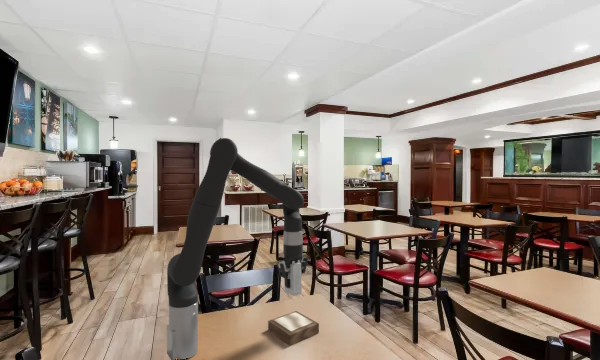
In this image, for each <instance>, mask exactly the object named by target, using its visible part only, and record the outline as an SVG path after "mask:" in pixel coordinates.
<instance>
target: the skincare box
mask: <svg viewBox="0 0 600 360" xmlns="http://www.w3.org/2000/svg"><path fill="white" fill-rule="evenodd" d="M290 266H291V273H290V288H286V286H285V278H283V279H284V283H283V285H284V293H286V294H288V295H290V296H292V297H297V296H301V295H302V293H303V287H302V285H303V284H302V275H301V263H295V264H290ZM284 268H285V267H284ZM287 269H288V270H289V268H287ZM287 275H288V272H287Z"/></svg>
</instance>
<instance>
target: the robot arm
mask: <svg viewBox="0 0 600 360" xmlns="http://www.w3.org/2000/svg"><path fill="white" fill-rule="evenodd" d="M238 152H239V151H238V147H237V145H236V143H235V142H234V140H233V139H230V138H228V137H222V138H218V139H217V140H216V141H215V142H213V143H212V145H211V148H210V150H209V161H208V163H207V168H206V171H205V174H204V176H203V178H202V180H201V182H200V185H199V186H198V188H197V190H196V192H195V194H194V196H193V200H192V203H191V206H190V209H189V212H188V214H187V220H186V221H187V222H186V230H185V231H186V232H185V240H184V242H183V245H182V247H181V248H182V249H181V251H180V253H177V254H175V255H173V256H172V257H171V258H170V259H169V261H168V264H167V268H166V269H167V270H166V274H167V277H166V280H167V281H166V282H167V283H166V284H167V285H166V286H167V287H166V288H167V296H168V325H167V326H166V354H167V355H168V357H169V358H170V360H175V359H176V358H177V359H185V360H187V359H186V358H188V359H190V358H193V357H194V356H196V354H197V353H198V350H199V324H198V323H199V320H198V319H199V293H198V289H197V284H196V280H197V279H198V278H199V276H200V275H201V270H202V266H203V262H204V256H205V251H206V248H207V246H208V242H209V239H210V237H211V234H212V231H213V228H214V225H215V222H216V220H217V217H218V213H219V211H220V207H221V204H222V200H223V197H224V192H225V188H226V182H227V180H228V177H229V174H230V171H231V172H233V173H235V174H237V175H238V176H241V177H242V178H243V179H245V180H246V181H247V182H250V183H251V184H253V185H254V186H255V187H256V188H257V189H259V190H261V191H263V192H264V193H266V194H267V195H269V196H270V197H273V198H274V199H277V200H278V201H279V202H280V203H282V204H281V205H282V211H283V212H282V214H283V219H284V220H283V237H282V238H283V240H282V241H283V244H282V246H283V248H282V249H283V253H282V254H283V260H282V261H281V262H278V261H277V263H276V265H277V269H278V273H279V276H280V277H281V278H282V279H284V278H285V284H284V287H285V286H286V288H290V273H291V266H290V264H295V263H301V276H302V275H303V274H305V273H306V270H307V265H308V261H309V258H308V257H306V256H303V254H304V252H303V251H304V248H303V244H304V239H303V237H304V236H303V235H304V234H303V219H302V216H301V214H300V209H301V208H302V207H303V206H304V203H305V198H304V196H303V194H302V193H301V192H299V190H297V189H295V188H294V187H291V186H289V185H288V184H286V183H284V182H283V181H282V180H280V179H279V178H277V177H276V176H275V175H273V174H272V173H271V172H269V171H268V170H266V169H264V168H263V167H262V168H261V167H260V166H257V165H255V164H254V163H251V162H250V161H249V160H247V159H245V157H243V156H242V155H241V154H239V153H238ZM284 267H285V268H284ZM287 268H289V270H288V269H287ZM287 272H288V275H287Z"/></svg>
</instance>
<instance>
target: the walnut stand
mask: <svg viewBox="0 0 600 360" xmlns="http://www.w3.org/2000/svg"><path fill="white" fill-rule="evenodd" d="M267 325H268V326H267V331H269V332H270V333H272V334H273V335H275V336H276V337H277V338H279V339H280V340H282V341H283V342H284V343H286V344H287V345H289V346H292V345H294V344H296V343H298V342H301V341H304V340H305V339H308V338H310V337H312V336H315V335H317V334H319V333H320V324H319V322H317V321H315V320H313V319H311V318H309V317H308V316H306V315H305V314H303V313H301V312H299V311H297V310H295V311H292V312H290V313H287V314H284V315H280V316H277V317H275V318H273V319H269V320H267Z"/></svg>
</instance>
